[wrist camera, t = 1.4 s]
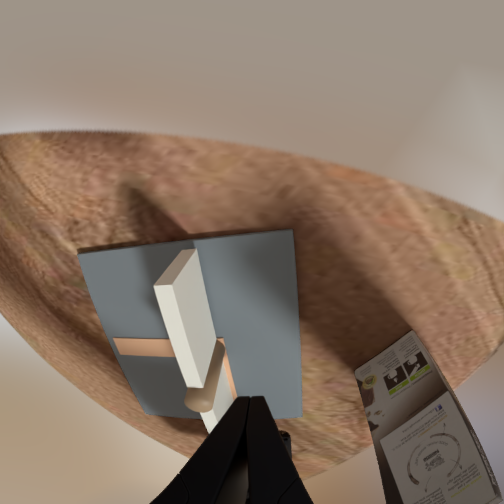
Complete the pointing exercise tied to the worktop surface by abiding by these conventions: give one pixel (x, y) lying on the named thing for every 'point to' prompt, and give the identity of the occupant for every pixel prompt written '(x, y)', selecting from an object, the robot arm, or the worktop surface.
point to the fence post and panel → (212, 391)
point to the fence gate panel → (187, 316)
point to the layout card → (222, 312)
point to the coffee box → (422, 431)
